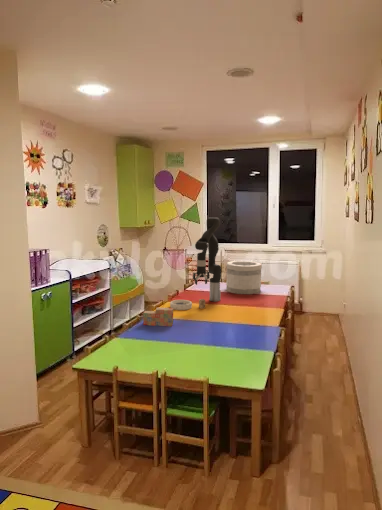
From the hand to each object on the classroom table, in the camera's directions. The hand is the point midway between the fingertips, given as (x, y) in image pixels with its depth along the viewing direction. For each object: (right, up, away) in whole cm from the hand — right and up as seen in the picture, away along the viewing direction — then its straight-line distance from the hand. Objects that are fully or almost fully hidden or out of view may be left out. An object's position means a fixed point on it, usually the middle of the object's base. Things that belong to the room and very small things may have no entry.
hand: (201, 284), depth 354 cm
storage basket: (+44, -11, +71) cm, 85 cm away
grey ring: (-17, -20, +4) cm, 26 cm away
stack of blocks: (-33, -27, -45) cm, 61 cm away
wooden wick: (+1, -20, +2) cm, 20 cm away
